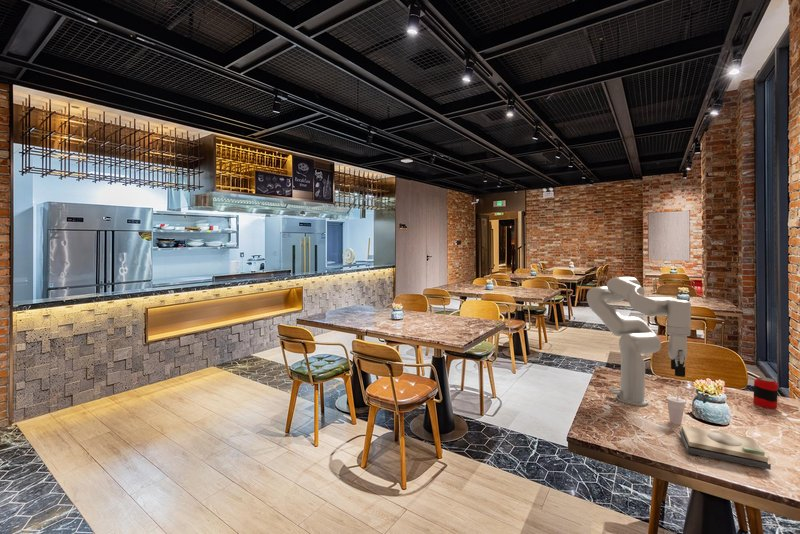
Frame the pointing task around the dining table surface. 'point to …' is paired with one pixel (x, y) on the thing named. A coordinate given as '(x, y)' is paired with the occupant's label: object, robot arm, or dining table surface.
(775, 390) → the soda can
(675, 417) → the smoothie
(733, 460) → the stand base
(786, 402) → the dining table surface
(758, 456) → the stand top
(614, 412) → the dining table surface
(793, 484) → the dining table surface
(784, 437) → the dining table surface
